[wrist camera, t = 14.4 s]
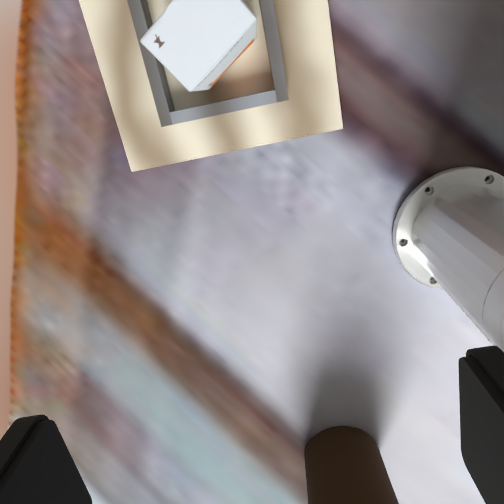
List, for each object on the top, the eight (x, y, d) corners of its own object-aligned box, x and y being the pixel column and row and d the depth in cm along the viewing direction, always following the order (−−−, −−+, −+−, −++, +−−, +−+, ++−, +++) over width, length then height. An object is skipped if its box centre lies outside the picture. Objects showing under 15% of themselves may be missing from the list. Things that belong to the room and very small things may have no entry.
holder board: (312, -110, 33) (317, -132, 29) (341, 127, 39) (348, 131, 36) (68, -47, 34) (48, -61, 31) (134, 169, 41) (123, 177, 38)
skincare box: (209, 91, 37) (188, 95, 26) (173, 53, 36) (135, 40, 25) (259, 38, 36) (259, 18, 24) (224, -4, 35) (206, -45, 23)
